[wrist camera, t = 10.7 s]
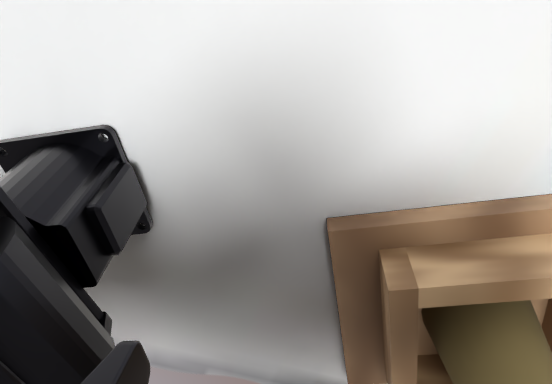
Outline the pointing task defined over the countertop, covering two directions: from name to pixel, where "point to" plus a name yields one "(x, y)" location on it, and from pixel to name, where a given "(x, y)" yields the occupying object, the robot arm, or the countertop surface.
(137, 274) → the countertop surface
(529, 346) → the cork
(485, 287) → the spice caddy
